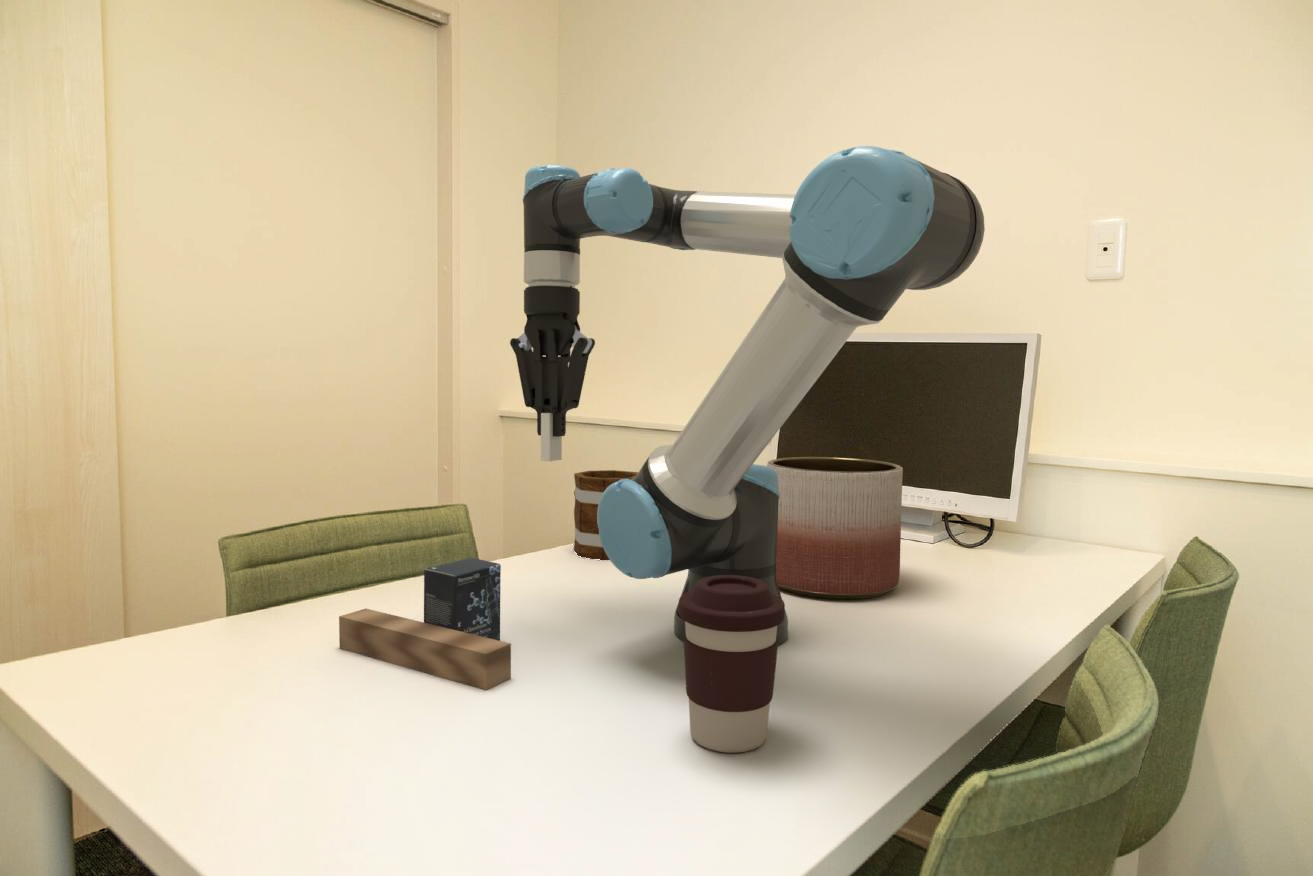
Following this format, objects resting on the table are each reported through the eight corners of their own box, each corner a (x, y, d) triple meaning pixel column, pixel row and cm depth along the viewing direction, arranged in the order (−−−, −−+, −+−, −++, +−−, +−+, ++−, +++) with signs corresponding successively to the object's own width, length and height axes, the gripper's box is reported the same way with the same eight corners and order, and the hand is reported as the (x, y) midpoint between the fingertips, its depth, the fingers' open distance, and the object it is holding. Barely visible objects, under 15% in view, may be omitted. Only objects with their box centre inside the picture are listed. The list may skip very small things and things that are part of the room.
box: (454, 663, 95) (454, 575, 94) (422, 653, 98) (421, 567, 97) (502, 644, 102) (502, 562, 101) (470, 636, 105) (470, 556, 104)
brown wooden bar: (510, 678, 91) (510, 643, 90) (486, 690, 87) (486, 654, 87) (366, 639, 103) (365, 608, 102) (339, 648, 99) (339, 616, 99)
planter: (747, 592, 127) (750, 466, 126) (779, 562, 148) (782, 454, 146) (891, 610, 119) (896, 476, 118) (904, 575, 140) (909, 461, 138)
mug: (558, 550, 154) (559, 473, 153) (615, 542, 163) (616, 468, 162) (620, 571, 139) (622, 485, 138) (679, 560, 148) (681, 479, 147)
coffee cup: (671, 716, 81) (674, 570, 80) (767, 714, 82) (771, 569, 81) (682, 763, 72) (686, 598, 70) (792, 760, 72) (797, 597, 71)
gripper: (607, 287, 109) (605, 461, 111) (531, 291, 115) (531, 454, 117) (574, 281, 102) (573, 466, 104) (496, 285, 109) (496, 459, 111)
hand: (551, 459), depth 111 cm, fingers closed
